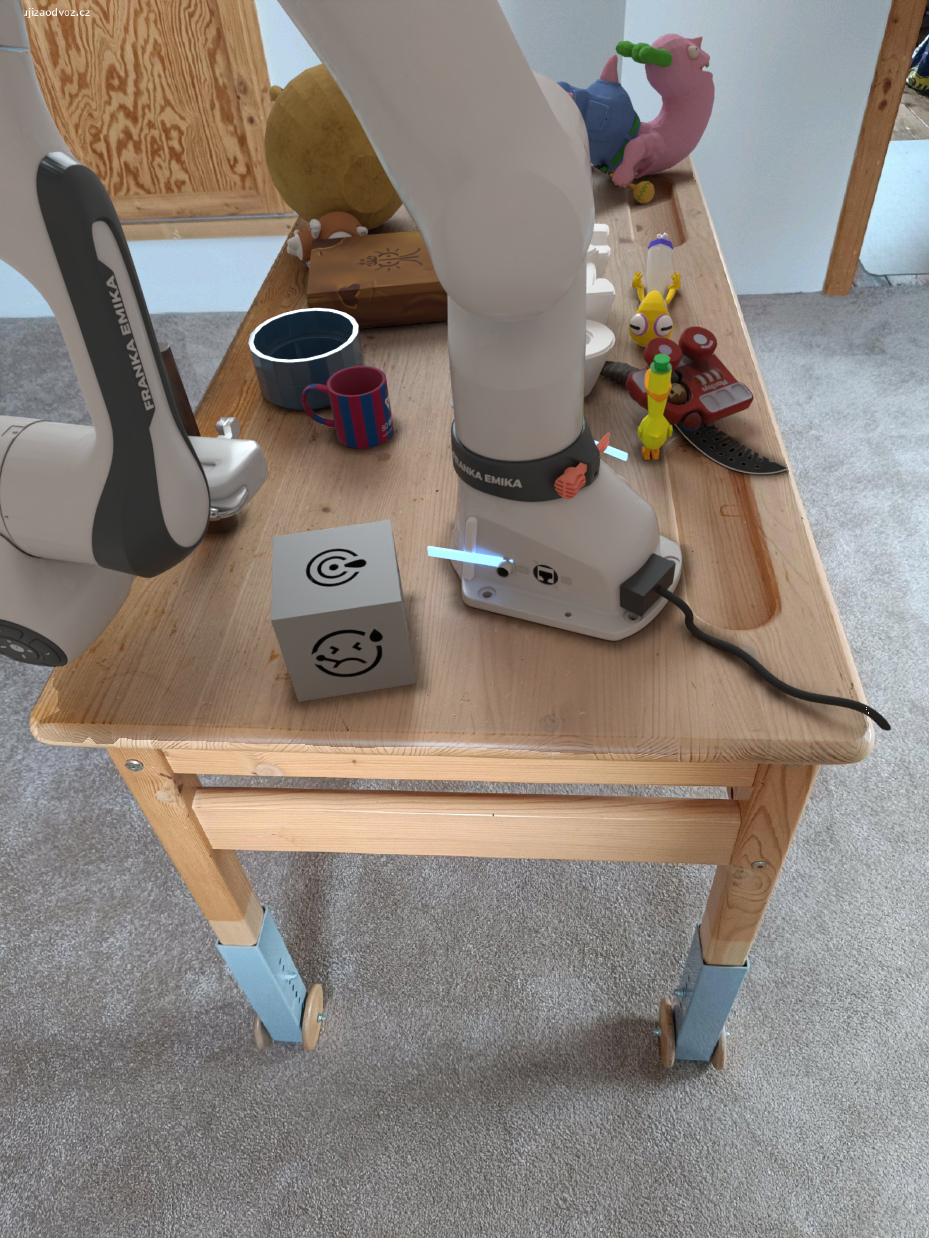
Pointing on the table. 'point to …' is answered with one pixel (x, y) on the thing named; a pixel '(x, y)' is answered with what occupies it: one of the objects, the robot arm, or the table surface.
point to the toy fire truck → (692, 380)
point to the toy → (662, 141)
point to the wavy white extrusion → (597, 307)
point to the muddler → (189, 424)
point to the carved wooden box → (376, 279)
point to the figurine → (324, 233)
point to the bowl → (303, 354)
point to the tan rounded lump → (324, 153)
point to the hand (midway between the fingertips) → (188, 420)
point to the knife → (705, 434)
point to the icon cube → (340, 610)
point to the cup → (356, 406)
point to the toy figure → (656, 407)
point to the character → (654, 294)
